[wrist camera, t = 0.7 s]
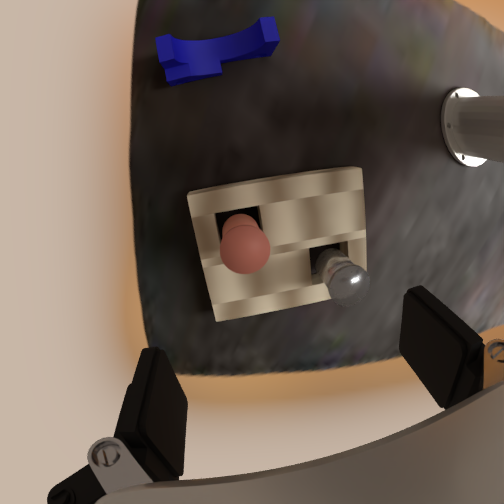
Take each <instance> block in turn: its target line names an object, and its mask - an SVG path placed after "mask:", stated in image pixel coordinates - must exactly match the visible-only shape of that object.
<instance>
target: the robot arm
mask: <svg viewBox="0 0 504 504" xmlns="http://www.w3.org/2000/svg"><path fill="white" fill-rule="evenodd" d="M441 128H442V133H443V137H444V140H445V143H446V145H447V147H448V150H449V151H450V153H451V154H452V156H453V157H454V158H455V159H456V160H457V161H458V162H460V163H461V164H463V165H465V166H470V167H476V166H479V165H481V164H482V163H484V162H485V161H486V159H487V160H492V161H497V162H502V163H504V96H479V95H478V94H477V93H476V92H475V91H473V90H471V89H469V88H456V89H454V90H452V91H451V92H450V93H448V95H447V96H446V98H445V100H444V102H443V105H442V110H441ZM482 342H483V339H482V338H481V337H480V336H479V335H478V334H477V333H476V332H475V331H474V330H473V329H471V328H470V327H469V326H468V325H467V324H466V323H465V322H464V321H463V320H461V319H460V318H459V317H458V316H457V315H456V314H455V313H454V312H452V311H451V310H450V309H449V308H448V307H447V306H446V305H444V304H443V303H442V302H441V301H440V300H439V299H437V298H436V297H435V296H434V295H433V294H431V293H430V292H429V291H428V290H427V289H425V288H424V287H423V286H421V285H419V286H416V287H413V288H410V289H408V290H407V293H406V294H405V295H404V300H403V313H402V324H401V333H400V342H399V350H400V353H401V355H402V356H403V357H404V359H405V360H406V361H407V363H408V364H409V365H410V367H411V368H412V369H413V371H414V372H415V373H416V375H417V376H418V377H419V379H420V380H421V381H422V383H423V384H424V385H425V387H426V388H427V390H428V391H429V393H430V394H431V395H432V397H433V398H434V399H435V401H436V402H437V404H438V405H439V406H440V407H441V408H443V407H444V409H445V411H443V412H441V413H439V414H437V415H435V416H433V417H430V418H429V419H426V420H424V421H422V422H420V423H418V424H416V425H413V426H411V427H409V428H406V429H404V430H402V431H399V432H397V433H394V434H392V435H389V436H387V437H385V438H382V439H379V440H376V441H374V442H371V443H368V444H365V445H363V446H359V447H357V448H353V449H350V450H347V451H344V452H341V453H337V454H334V455H331V456H328V457H323V458H320V459H316V460H313V461H308V462H304V463H300V464H295V465H291V466H286V467H281V468H276V469H271V470H266V471H260V472H254V473H247V474H240V475H233V476H224V477H215V478H206V479H192V480H179V476H182V475H183V472H184V470H183V469H184V452H185V437H186V422H187V409H188V402H187V398H186V396H185V394H184V392H183V390H182V388H181V385H180V383H179V381H178V379H177V377H176V375H175V373H174V371H173V369H172V366H171V364H170V362H169V360H168V358H167V355H166V353H165V351H164V350H160V349H159V348H158V347H150V348H144V349H142V351H141V355H140V358H139V361H138V364H137V367H136V371H135V374H134V377H133V381H132V383H131V384H130V385H129V386H128V388H127V391H126V394H125V397H124V401H123V404H122V408H121V411H120V415H119V419H118V422H117V426H116V429H115V433H114V437H106V438H102V439H100V440H98V441H96V442H95V443H94V444H93V445H92V446H91V448H90V449H89V452H88V456H87V458H88V462H89V464H88V465H86V466H85V467H83V468H82V469H80V470H79V471H78V472H76V473H74V474H73V475H71V476H70V477H68V478H66V479H65V480H63V481H62V482H60V483H59V484H57V485H55V486H54V487H53V488H52V489H51V490H50V492H49V494H48V497H47V503H48V504H504V340H501V339H494V340H491V341H489V342H488V343H487V344H486V345H484V344H483V343H482Z"/></svg>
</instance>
